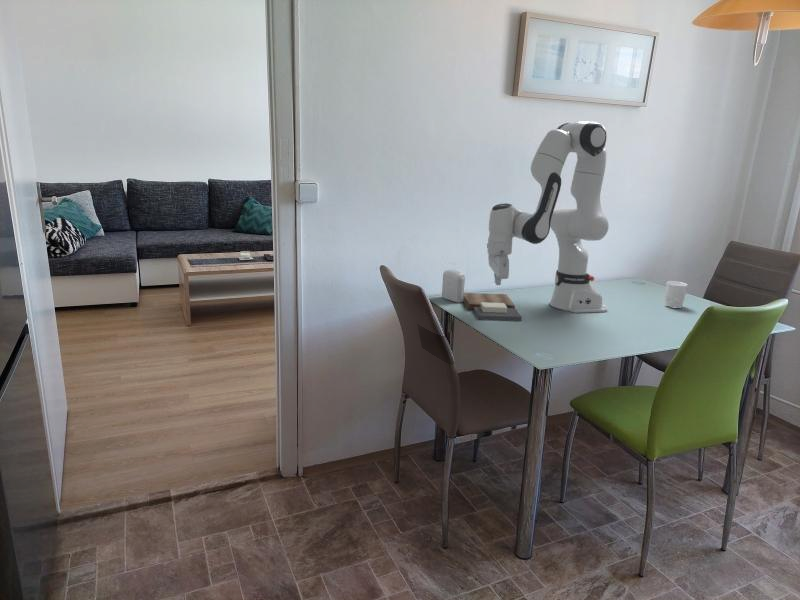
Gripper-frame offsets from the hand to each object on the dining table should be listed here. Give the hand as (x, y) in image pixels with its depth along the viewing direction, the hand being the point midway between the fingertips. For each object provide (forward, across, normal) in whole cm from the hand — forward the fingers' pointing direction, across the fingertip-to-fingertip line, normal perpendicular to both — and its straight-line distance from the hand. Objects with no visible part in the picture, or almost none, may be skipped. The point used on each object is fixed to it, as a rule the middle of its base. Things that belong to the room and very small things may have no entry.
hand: (497, 284), depth 219 cm
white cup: (+15, +16, -78) cm, 81 cm away
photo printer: (+12, +17, +15) cm, 25 cm away
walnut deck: (+12, +10, +1) cm, 16 cm away
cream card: (+10, -1, +1) cm, 10 cm away
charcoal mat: (+11, -3, 0) cm, 12 cm away
